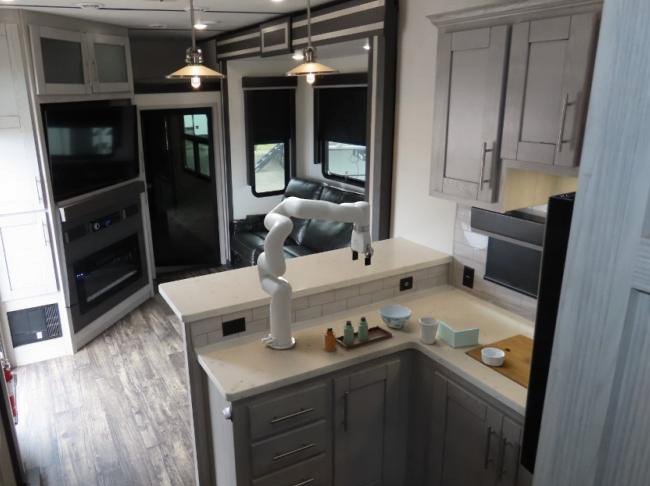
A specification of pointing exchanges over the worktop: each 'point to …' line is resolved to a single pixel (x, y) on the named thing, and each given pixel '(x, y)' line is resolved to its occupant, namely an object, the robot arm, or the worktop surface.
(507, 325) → the worktop surface
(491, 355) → the ramekin
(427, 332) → the dixie cup
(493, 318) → the worktop surface
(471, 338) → the l-shaped corner panel
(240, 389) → the worktop surface
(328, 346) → the amber bottle
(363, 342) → the tray
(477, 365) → the worktop surface
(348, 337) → the green bottle
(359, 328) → the green bottle
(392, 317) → the chinaware
